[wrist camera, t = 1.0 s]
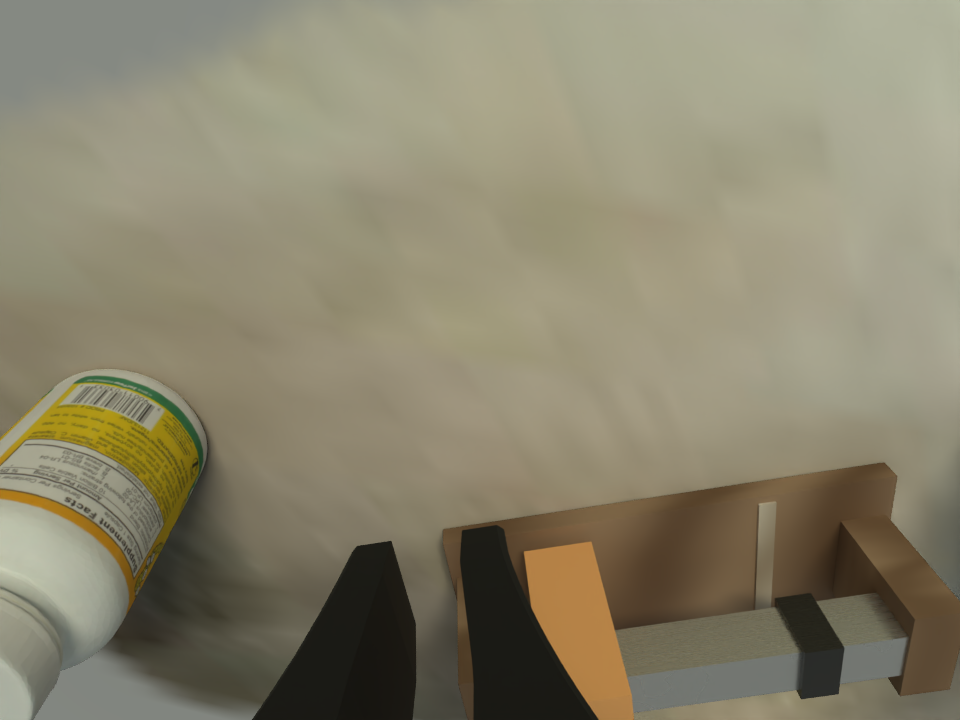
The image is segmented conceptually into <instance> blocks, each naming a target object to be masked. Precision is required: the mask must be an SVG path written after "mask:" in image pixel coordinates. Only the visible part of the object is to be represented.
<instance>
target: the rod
mask: <svg viewBox="0 0 960 720" xmlns="http://www.w3.org/2000/svg"><path fill="white" fill-rule="evenodd" d="M615 633H616V637H617V641H618V645H619V648H620V652H621V656H622V660H623V664H624V667H625V671H626V675H627V679H628V683H629V686H630V690H631V694H632V703H633V713H635V712H642V711H649V710H656V709H663V708H671V707H678V706H685V705H692V704H699V703H706V702H714V701H721V700H728V699H735V698H742V697H750V696H757V695H764V694H771V693H778V692H786V691H793V690H797V692H798V694H799V696H800V698H801V699H806V698H814V697H821V696H828V695H835V694H839V686H840V684H843V683H850V682H857V681H865V680H872V679H879V678H886V677H893V676H901V675H902V671H903V666H904V661H905V656H906V651H907V645H908V640H909V636H908V635H907V634H906V632H905V631H904V629H903V628H902V627H901V625H900V624H899V623H898V621H897V620H896V618H895V617H894V616H893V614H892V613H891V612H890V610H889V609H888V607H887V606H886V605H885V603H884V602H883V600H882V599H881V598H880V596H879V595H878V594H877V593H870V594H863V595H856V596H849V597H842V598H835V599H829V600H822V601H816V600H815V599H814V597H813V596H812V594H811V593H806V594H799V595H793V596H786V597H779V598H775V605H774V607H773V608H766V609H759V610H752V611H745V612H738V613H731V614H725V615H718V616H711V617H704V618H697V619H690V620H683V621H676V622H669V623H662V624H655V625H648V626H641V627H634V628H627V629H621V630H615Z"/></svg>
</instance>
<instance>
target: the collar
mask: <svg viewBox="0 0 960 720" xmlns="http://www.w3.org/2000/svg"><path fill="white" fill-rule="evenodd" d="M524 557H525V564H526V571H527V579H528V586H529V594H530V601H531V608H532V610H533V612H534V614H535V616H536V618H537V620H538V622H539V624H540V626H541V628H542V630H543V631H544V633H545V635H546V637H547V639H548V641H549V642H550V644H551V646H552V647H553V649H554V651H555V653H556V654H557V656H558V658H559V659H560V661H561V663H562V664H563V666H564V668H565V669H566V671H567V673H568V674H569V676H570V677H571V679H572V680H573V682H574V684H575V685H576V687H577V688H578V690H579V691H580V693H581V694H582V696H583V697H584V699H585V700H586V702H587V703H588V705H589V706H590V707H591V709H592V710H593V712H594V713H595V715H596V716H597V718H598V719H599V720H634V714H633V703H632V694H631V690H630V686H629V683H628V679H627V675H626V671H625V667H624V664H623V660H622V656H621V652H620V648H619V645H618V641H617V637H616V633H615V629H614V626H613V622H612V618H611V614H610V610H609V607H608V603H607V599H606V595H605V591H604V588H603V584H602V580H601V576H600V572H599V568H598V565H597V561H596V557H595V553H594V549H593V546H592V542H584V543H577V544H571V545H564V546H557V547H551V548H544V549H537V550H531V551H524Z"/></svg>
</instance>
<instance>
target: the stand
mask: <svg viewBox="0 0 960 720" xmlns="http://www.w3.org/2000/svg"><path fill="white" fill-rule="evenodd" d="M896 482H897V475H896V474H895V473H894V472H893V471H892V470H891V469H890V468H889V467H888V466H887V465H886V464H885V463H877V464H871V465H864V466H858V467H851V468H844V469H838V470H831V471H825V472H818V473H812V474H805V475H798V476H792V477H785V478H779V479H772V480H765V481H759V482H752V483H746V484H739V485H732V486H726V487H719V488H713V489H706V490H700V491H693V492H686V493H680V494H673V495H667V496H660V497H653V498H647V499H640V500H634V501H627V502H621V503H614V504H607V505H601V506H594V507H588V508H581V509H574V510H568V511H561V512H555V513H548V514H541V515H535V516H528V517H522V518H515V519H509V520H502V521H495V522H489V523H482V524H476V525H469V526H462V527H456V528H449V529H443V546H444V550H445V554H446V558H447V562H448V566H449V570H450V574H451V578H452V582H453V586H454V590H455V594H456V598H457V613H458V685H459V689H460V693H461V696H462V700H463V704H464V707H465V711H466V715H467V719H468V720H473V694H474V684H473V669H472V657H471V649H470V641H469V632H468V624H467V616H466V608H465V600H464V592H463V584H462V575H461V567H460V549H461V536H462V530H467V529H473V528H480V527H486V526H493V525H498V526H500V527H501V528H503V529H504V531H505V536H506V542H507V547H508V552H509V555H510V558H511V561H512V564H513V567H514V569H515V572H516V575H517V577H518V580H519V582H520V585H521V587H522V589H523V591H524V593H525V596H526V598H527V600H528V602H529V604H530V606H531V601H530V594H529V586H528V579H527V571H526V564H525V557H524V551H531V550H537V549H544V548H551V547H557V546H564V545H571V544H577V543H584V542H592V546H593V549H594V553H595V557H596V561H597V565H598V568H599V572H600V576H601V580H602V584H603V588H604V591H605V595H606V599H607V603H608V607H609V610H610V614H611V618H612V622H613V626H614V629H615V630H621V629H627V628H634V627H641V626H648V625H655V624H662V623H669V622H676V621H683V620H690V619H697V618H704V617H711V616H718V615H725V614H731V613H738V612H745V611H752V610H759V609H766V608H773V607H774V605H775V598H779V597H786V596H793V595H799V594H806V593H811V594H812V596H813V597H814V599H815V600H816V601H822V600H829V599H835V598H842V597H849V596H856V595H863V594H870V593H877V594H878V595H879V596H880V598H881V599H882V600H883V602H884V603H885V605H886V606H887V607H888V609H889V610H890V612H891V613H892V614H893V616H894V617H895V618H896V620H897V621H898V623H899V624H900V625H901V627H902V628H903V629H904V631H905V632H906V634H907V635H908V636H909V640H908V645H907V651H906V656H905V661H904V666H903V671H902V675H901V676H893V677H888V679H889V680H890V682H891V683H892V685H893V686H894V688H895V689H896V691H897V692H898V694H899V695H900V696H904V695H912V694H919V693H926V692H933V691H941V690H948V689H950V686H951V682H952V678H953V674H954V670H955V666H956V662H957V658H958V654H959V650H960V601H959V600H958V599H957V597H956V596H955V595H954V594H953V593H952V592H951V590H950V589H949V588H948V587H947V586H946V585H945V583H944V582H943V581H942V580H941V579H940V578H939V576H938V575H937V574H936V573H935V572H934V571H933V569H932V568H931V567H930V566H929V565H928V563H927V562H926V561H925V560H924V559H923V558H922V556H921V555H920V554H919V553H918V552H917V551H916V549H915V548H914V547H913V546H912V545H911V544H910V542H909V541H908V540H907V539H906V538H905V537H904V535H903V534H902V533H901V532H900V531H899V530H898V528H897V527H896V526H895V525H894V524H893V523H892V521H891V513H892V507H893V501H894V494H895V488H896Z"/></svg>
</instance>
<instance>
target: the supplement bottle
mask: <svg viewBox="0 0 960 720" xmlns="http://www.w3.org/2000/svg"><path fill="white" fill-rule="evenodd" d="M206 457H207V440H206V434H205V432H204V429H203V427H202V425H201V423H200V421H199V419H198V417H197V416H196V414H195V413H194V411H193V410H192V409H191V408H190V406H189V405H188V404H187V403H186V402H185V400H184V399H183V398H182V397H181V396H180V395H178V394H177V393H176V392H174V391H173V390H172V389H170V388H169V387H167V386H165V385H164V384H162V383H160V382H159V381H157V380H154V379H152V378H150V377H147V376H145V375H142V374H139V373H135V372H131V371H126V370H118V369H98V370H91V371H85V372H82V373H79V374H76V375H73V376H71V377H69V378H67V379H65V380H64V381H62V382H61V383H59V384H58V385H56V386H55V387H54V388H53V389H52V390H50V391H49V392H48V393H47V394H46V395H45V396H44V397H42V398H41V399H40V400H39V401H38V403H37V404H36V405H35V406H33V407H32V408H31V409H30V410H29V411H28V412H27V413H26V414H25V415H24V416H23V417H22V418H21V419H20V420H19V421H18V422H17V423H16V424H15V425H14V426H13V427H11V428H10V429H9V430H8V431H7V432H6V433H5V434H4V435H3V436H2V437H1V438H0V720H33V719H34V718H35V716H36V714H37V713H38V711H39V710H40V708H41V706H42V705H43V703H44V701H45V700H46V698H47V697H48V695H49V693H50V692H51V691H52V689H53V688H54V686H55V684H56V683H57V680H58V677H59V674H60V671H62V670H65V669H67V668H70V667H73V666H75V665H77V664H79V663H81V662H83V661H85V660H86V659H88V658H90V657H91V656H93V655H94V654H95V653H97V652H98V651H99V650H101V649H102V648H103V647H104V646H105V645H106V644H107V643H108V642H109V641H110V639H111V638H112V637H113V636H114V634H115V633H116V631H117V630H118V628H119V627H120V625H121V624H122V622H123V620H124V618H125V616H126V615H127V613H128V611H129V609H130V607H131V606H132V604H133V602H134V600H135V598H136V597H137V595H138V593H139V591H140V589H141V587H142V586H143V584H144V582H145V580H146V578H147V576H148V574H149V572H150V571H151V569H152V567H153V565H154V563H155V561H156V559H157V557H158V555H159V554H160V552H161V550H162V548H163V546H164V544H165V542H166V540H167V538H168V536H169V534H170V532H171V530H172V528H173V527H174V525H175V523H176V521H177V519H178V517H179V516H180V514H181V512H182V510H183V508H184V506H185V504H186V503H187V501H188V499H189V497H190V495H191V493H192V491H193V489H194V487H195V485H196V483H197V480H198V478H199V476H200V474H201V472H202V470H203V467H204V464H205V461H206Z"/></svg>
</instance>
